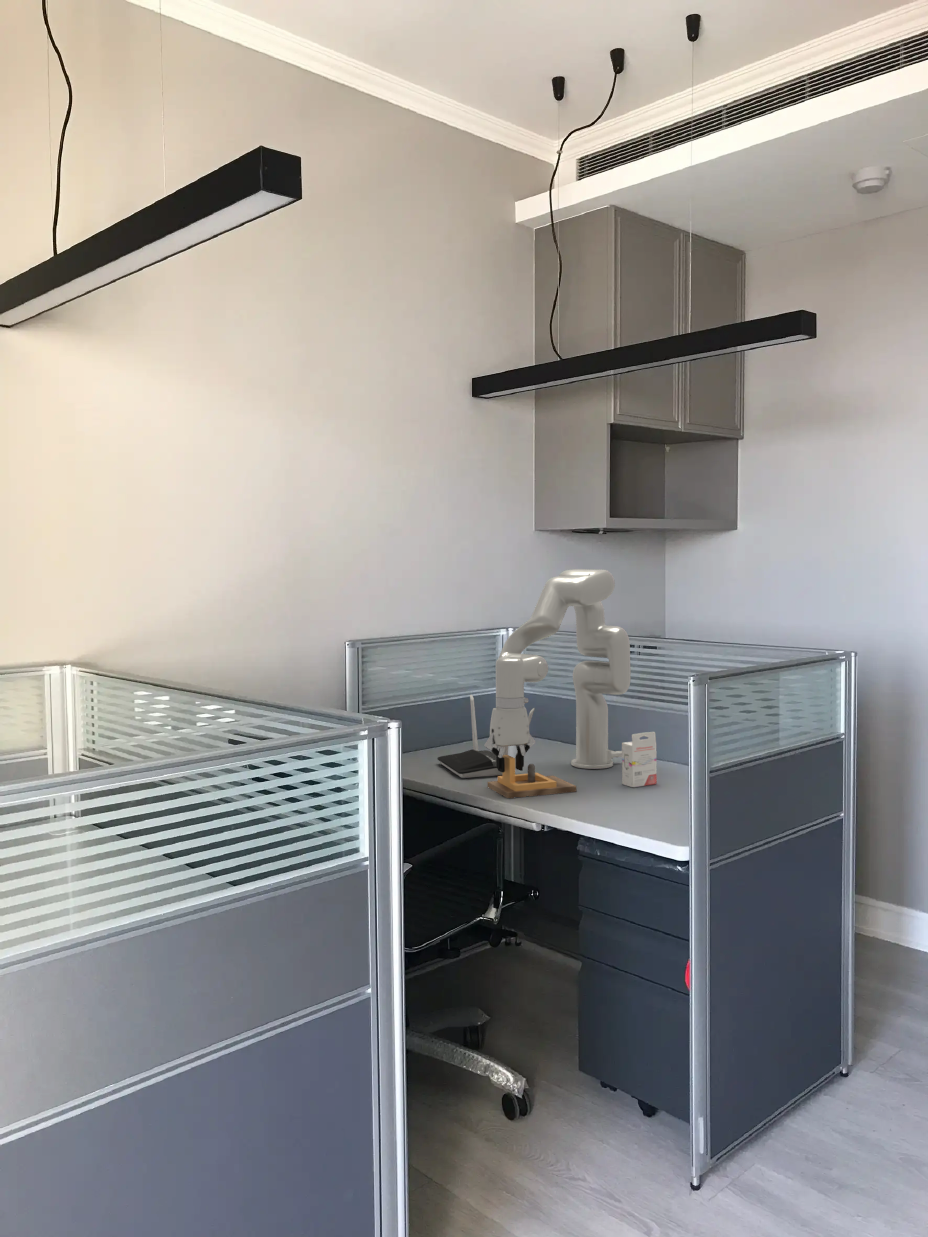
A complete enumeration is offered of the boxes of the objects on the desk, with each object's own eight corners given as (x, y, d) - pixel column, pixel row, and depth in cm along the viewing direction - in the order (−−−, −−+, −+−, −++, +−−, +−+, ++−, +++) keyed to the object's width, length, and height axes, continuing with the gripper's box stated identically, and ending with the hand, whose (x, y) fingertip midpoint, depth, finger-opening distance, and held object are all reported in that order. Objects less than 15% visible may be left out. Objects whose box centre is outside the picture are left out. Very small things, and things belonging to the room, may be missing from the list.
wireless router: (431, 760, 306) (430, 697, 305) (501, 755, 313) (500, 693, 312) (465, 784, 274) (465, 713, 273) (542, 778, 281) (542, 708, 280)
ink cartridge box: (645, 780, 277) (646, 728, 276) (657, 784, 272) (657, 731, 271) (621, 784, 273) (621, 731, 272) (632, 787, 268) (632, 734, 267)
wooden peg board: (553, 780, 277) (553, 756, 277) (576, 791, 264) (576, 765, 264) (487, 787, 270) (487, 762, 270) (508, 798, 257) (507, 772, 257)
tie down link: (537, 778, 274) (537, 749, 274) (556, 787, 263) (556, 757, 263) (497, 781, 270) (497, 752, 270) (515, 791, 259) (515, 761, 258)
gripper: (532, 699, 270) (532, 765, 271) (475, 703, 264) (475, 770, 265) (544, 703, 263) (544, 770, 264) (486, 707, 257) (486, 776, 258)
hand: (510, 769), depth 265 cm, fingers open, 4 cm apart
